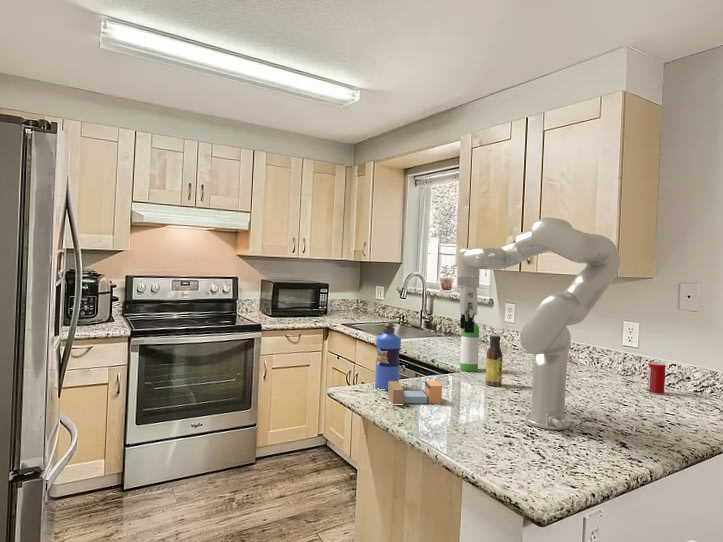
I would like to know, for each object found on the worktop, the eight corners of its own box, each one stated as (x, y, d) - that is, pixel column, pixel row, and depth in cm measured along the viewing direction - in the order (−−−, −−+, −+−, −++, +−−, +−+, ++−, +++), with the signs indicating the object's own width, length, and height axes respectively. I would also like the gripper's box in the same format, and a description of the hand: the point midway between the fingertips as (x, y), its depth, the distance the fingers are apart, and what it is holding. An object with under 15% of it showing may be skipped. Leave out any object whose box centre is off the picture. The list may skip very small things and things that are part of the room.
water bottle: (386, 382, 181) (388, 319, 180) (404, 388, 174) (406, 322, 173) (369, 386, 174) (371, 321, 173) (387, 392, 167) (390, 324, 167)
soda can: (667, 395, 176) (668, 364, 176) (652, 394, 177) (654, 363, 176) (658, 391, 182) (660, 361, 182) (644, 390, 182) (646, 360, 182)
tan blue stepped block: (429, 405, 154) (430, 390, 154) (392, 405, 152) (393, 390, 152) (422, 395, 165) (422, 381, 165) (387, 395, 163) (388, 381, 163)
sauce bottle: (502, 387, 179) (504, 337, 179) (485, 386, 181) (487, 336, 180) (500, 383, 186) (502, 334, 185) (484, 382, 187) (486, 333, 187)
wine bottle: (474, 373, 202) (477, 305, 201) (457, 370, 206) (460, 304, 205) (479, 369, 208) (482, 304, 208) (463, 367, 212) (465, 302, 212)
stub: (441, 403, 157) (441, 385, 156) (428, 403, 156) (429, 385, 156) (436, 397, 163) (437, 380, 163) (424, 397, 162) (424, 380, 162)
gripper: (483, 284, 154) (482, 334, 155) (474, 282, 172) (472, 327, 172) (461, 283, 155) (459, 333, 155) (454, 281, 172) (452, 326, 172)
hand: (466, 330), depth 164 cm, fingers open, 9 cm apart
